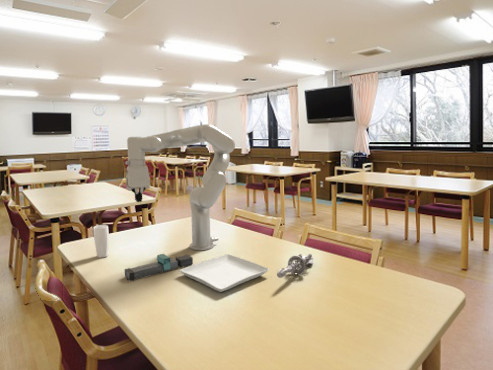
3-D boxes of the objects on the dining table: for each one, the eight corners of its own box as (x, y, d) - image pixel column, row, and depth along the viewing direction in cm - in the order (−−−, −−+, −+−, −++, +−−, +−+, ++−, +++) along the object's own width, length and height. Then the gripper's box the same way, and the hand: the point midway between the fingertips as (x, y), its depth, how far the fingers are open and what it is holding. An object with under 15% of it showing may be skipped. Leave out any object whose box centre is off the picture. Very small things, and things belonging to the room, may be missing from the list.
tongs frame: (187, 261, 163) (187, 254, 162) (193, 264, 158) (193, 257, 158) (125, 277, 145) (124, 269, 145) (129, 281, 141) (129, 273, 140)
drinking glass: (104, 259, 166) (102, 228, 164) (92, 258, 168) (89, 228, 166) (112, 254, 173) (111, 225, 171) (100, 253, 174) (98, 224, 172)
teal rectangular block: (163, 264, 156) (163, 253, 155) (170, 268, 151) (170, 257, 150) (157, 266, 154) (157, 255, 154) (164, 270, 149) (163, 259, 148)
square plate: (227, 260, 164) (227, 252, 164) (270, 277, 145) (270, 268, 144) (178, 277, 146) (178, 268, 145) (220, 298, 126) (220, 288, 126)
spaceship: (265, 267, 134) (283, 262, 130) (301, 250, 163) (316, 246, 160) (271, 287, 132) (290, 284, 128) (306, 267, 162) (322, 263, 158)
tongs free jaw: (172, 264, 158) (171, 257, 158) (175, 266, 156) (174, 259, 156) (124, 276, 145) (124, 269, 145) (127, 278, 143) (126, 271, 142)
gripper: (123, 164, 156) (125, 204, 159) (155, 162, 165) (156, 200, 168) (118, 163, 162) (120, 202, 165) (149, 162, 171) (150, 198, 174)
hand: (138, 201), depth 166 cm, fingers closed
